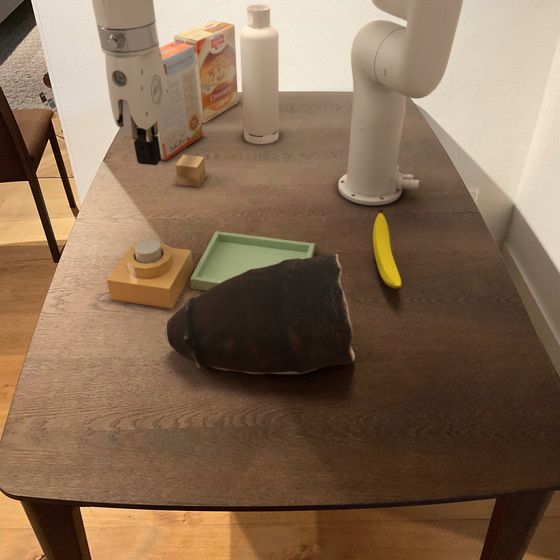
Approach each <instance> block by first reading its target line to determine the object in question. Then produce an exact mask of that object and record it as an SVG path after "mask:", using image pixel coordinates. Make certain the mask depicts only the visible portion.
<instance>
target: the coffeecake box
mask: <svg viewBox="0 0 560 560" xmlns="http://www.w3.org/2000/svg"><path fill="white" fill-rule="evenodd" d="M235 27H236V25H235V24H233V23H229V22H225V21H217V20H211V21H208V22H206V23H204V24H203V23H202V24H200V25H198V26H196V27H193V28H190V29H188V30H186V31H183V32H181V33H178V34H176V35H174V36H173V38H174V42H178V43H182V44H187V45H193V47H194V57H195V66H196V76H197V85H198V95H199V104H200V113H201V123H203V124H206V123H207V122H209V121H211V120H212V119H214V118H215V117H218V116H219V115H221V114H222V113H224V112H226V111H227V110H229V109H230V108H232V107H234V106H236V105H237V104H238V103H239V94H238V92H239V91H238V71H237V51H236V50H237V49H236V28H235Z"/></svg>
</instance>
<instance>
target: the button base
mask: <svg viewBox="0 0 560 560" xmlns="http://www.w3.org/2000/svg"><path fill="white" fill-rule="evenodd" d="M159 242H160V245H161V251H162V257H161V259H159V260H158V261H156V262H153V263H148V264H145V263H139V262H138V261H137V260H136V256H135V251H134V245H135V244H136V243H137V242H133V243H132V244H131V245H130V247H129V248H128V250H127V251H126V253H125V254H124V256H123V257H122V258H121V260H120V261H119V262H118V264H117V265H116V267H115V268H114V269H113V271H112V272H111V274H110V275H109V277H108V278H107V279H106V281H107V286H108V290H109V294H110V299H111V300H112V301H117V302H118V301H119V302H125V303H132V304H138V305H145V306H152V307H157V308H164V309H170V310H172V309H174V307H175V304H176V303H177V302H178V299H179V297H180V295H181V294H182V292H183V290H184V288H185V286H186V284H187V282H188V281H189V280H190V278H191V276H192V274H193V273H194V271H195V269H194V261H193V252H192V250H191V249H185V248H178V247H171V246H169V245H167V244H166V243H164V242H161V241H159Z"/></svg>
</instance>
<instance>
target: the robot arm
mask: <svg viewBox="0 0 560 560" xmlns="http://www.w3.org/2000/svg"><path fill="white" fill-rule="evenodd" d="M91 2H92V9H93V13H94V18H95V23H96V27H97V28H96V29H97V33H98V39H99V43H100V49H101V52H102V53H103V54H104V58H105V59H104V60H105V61H104V62H105V72H106V81H107V89H108V96H109V101H110V108H111V111H112V117H113V120H114V123H115V125H116V126H117V127H118V128H123V138H124V140H130V141H132V142H133V145H134V150H135V157H136V162H137V163H138V164H140V165H147V166H148V165H149V166H157V165H158V164H159V163H160V162H161V161H162V160H161V154H160V147H159V141H158V136H155V135H157V134H158V123H157V120H158V119H159V118H160V117H161V115H162V114H163V113H164V112H165V111H166V109H167V108H168V106H169V103H170V98H169V92H168V86H167V80H166V74H165V69H164V64H163V60H162V55H161V52H160V42H159V35H158V28H157V27H158V26H157V19H156V13H155V11H156V10H155V5H154V0H91ZM371 2H372V5H374V6H375V7H376V8H377V9H378V10H380V11H382V12H384V13H386V14H388V15H390V16H393V17H396V18H398V19H401V20H403V21H406V26H404V25H401V24H399V23H397V22H393V21H390V20H384V19H383V20H382V19H378V20H373V21H370V22H367V23H366V24H364V25H363V26H362V27H361V28H360V29H359V30H358V32H357V33H356V35H355V36H354V39H353V41H352V44H351V50H350V65H351V75H352V86H353V87H352V90H353V91H352V109H351V121H350V131H349V132H350V133H349V145H348V158H347V170H346V173H345V174H343V175H342V176H341V177H340V178H339V180H338V184H337V190H338V192H339V194H340V196H342V197H343V198H345V199H346V200H347V201H350V202H352V203H355V204H358V205H363V206H384V205H388V204H391V203H394V202H395V201H396V200H398V199H399V198H400V197H401V196H402V192H403V189H407V190H413V191H418V190H419V185H420V180H419V179H414V174H409V173H402V172H400V171H399V167H400V165H399V164H398V163H399V155H400V149H401V143H402V137H403V136H402V135H403V128H404V121H405V115H406V103H407V102H406V97H407V98H409V99H423V98H425V97H427V96H430V95H431V94H432V93H433V92H434V91H435V90H436V89H437V87H438V86H439V85H440V83H441V81H442V79H443V78H444V75H445V73H446V70H447V67H448V63H449V60H450V57H451V52H452V50H453V49H452V48H453V44H454V40H455V36H456V33H457V29H458V24H459V20H460V17H461V12H462V7H463V4H464V3H463V2H464V0H371Z"/></svg>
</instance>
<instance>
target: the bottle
mask: <svg viewBox="0 0 560 560" xmlns="http://www.w3.org/2000/svg"><path fill="white" fill-rule="evenodd" d="M246 13H247V21H246V24H247V25H245V26H243V28H242V29H240V33H239V52H240V74H241V75H240V77H241V78H240V79H241V98H242V99H241V101H242V122H243V123H242V124H243V139H244V140H245V141H246V142H248V143H250V144H253V145H254V144H255V145H268V144H271V143H274V142H276V141H278V139H279V138H280V137H279V136H280V130H279V124H280V123H279V119H280V118H279V114H280V113H279V112H280V111H279V107H280V106H279V103H280V101H279V100H280V99H279V98H280V97H279V92H280V91H279V83H280V82H279V81H280V79H279V73H280V72H279V32H278V29H276V28H275V27H274V26H273V25H271V6H269V5H267V4H251V5H248V6H246Z"/></svg>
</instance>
